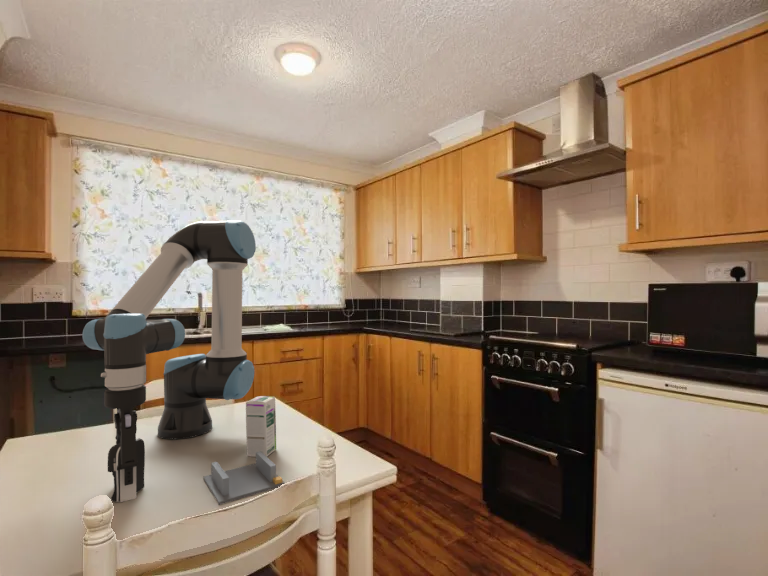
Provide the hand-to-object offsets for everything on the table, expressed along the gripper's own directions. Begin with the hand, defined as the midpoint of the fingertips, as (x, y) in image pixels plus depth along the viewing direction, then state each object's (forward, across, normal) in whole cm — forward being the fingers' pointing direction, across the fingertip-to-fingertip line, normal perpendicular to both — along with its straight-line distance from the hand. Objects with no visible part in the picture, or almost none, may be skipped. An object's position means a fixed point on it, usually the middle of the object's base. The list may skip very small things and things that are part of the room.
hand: (125, 486), depth 88 cm
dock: (+2, +9, +22) cm, 24 cm away
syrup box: (+2, -5, +31) cm, 31 cm away
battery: (+2, 0, 0) cm, 2 cm away
